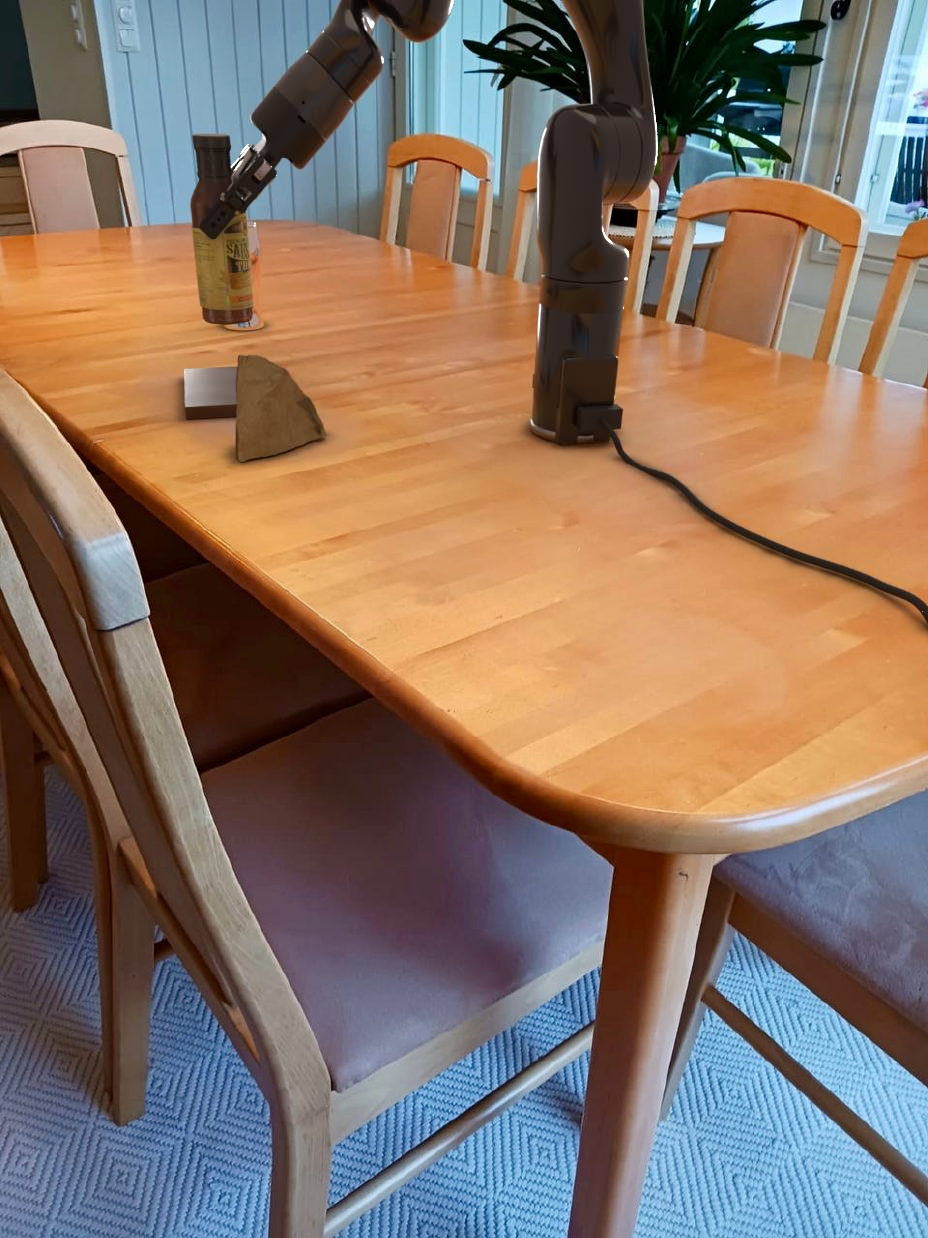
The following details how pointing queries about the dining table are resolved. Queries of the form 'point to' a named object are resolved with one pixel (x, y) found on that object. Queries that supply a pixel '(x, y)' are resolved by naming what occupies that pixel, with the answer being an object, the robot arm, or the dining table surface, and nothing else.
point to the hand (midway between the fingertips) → (205, 228)
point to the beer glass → (253, 281)
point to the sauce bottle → (220, 239)
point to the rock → (271, 410)
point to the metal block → (210, 392)
